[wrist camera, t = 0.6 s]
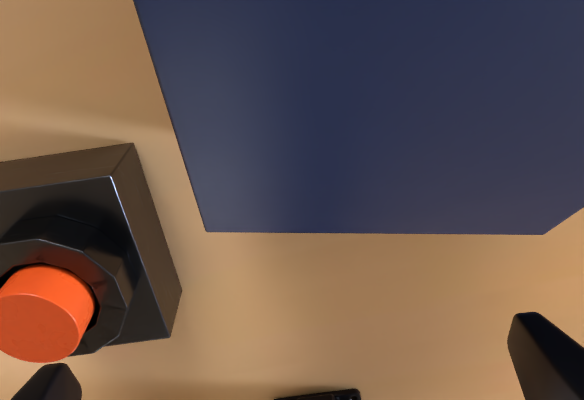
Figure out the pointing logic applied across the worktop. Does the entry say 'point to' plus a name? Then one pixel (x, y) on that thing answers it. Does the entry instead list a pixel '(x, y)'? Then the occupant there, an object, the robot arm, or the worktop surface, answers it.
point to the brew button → (43, 313)
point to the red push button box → (93, 238)
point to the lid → (375, 112)
